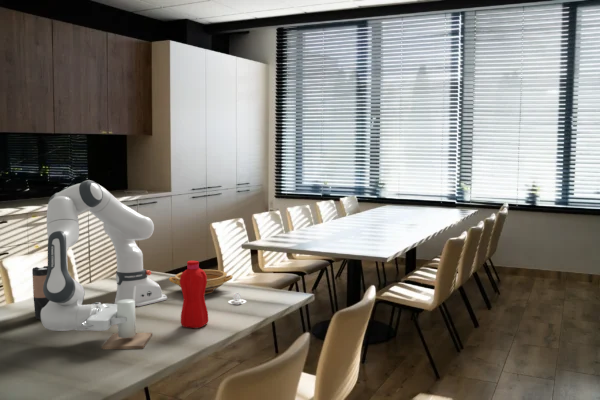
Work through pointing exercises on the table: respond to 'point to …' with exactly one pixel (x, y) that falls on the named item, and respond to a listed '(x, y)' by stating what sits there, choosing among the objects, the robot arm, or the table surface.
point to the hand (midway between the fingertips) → (129, 316)
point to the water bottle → (193, 296)
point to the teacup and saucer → (237, 299)
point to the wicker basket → (208, 279)
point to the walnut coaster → (127, 341)
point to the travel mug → (39, 289)
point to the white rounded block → (127, 310)
